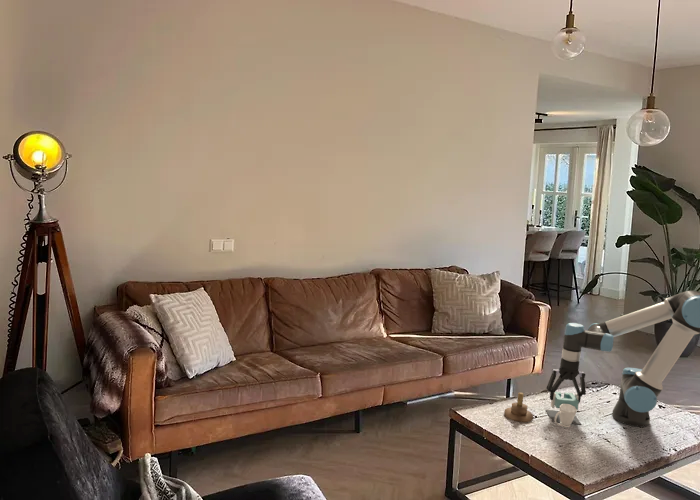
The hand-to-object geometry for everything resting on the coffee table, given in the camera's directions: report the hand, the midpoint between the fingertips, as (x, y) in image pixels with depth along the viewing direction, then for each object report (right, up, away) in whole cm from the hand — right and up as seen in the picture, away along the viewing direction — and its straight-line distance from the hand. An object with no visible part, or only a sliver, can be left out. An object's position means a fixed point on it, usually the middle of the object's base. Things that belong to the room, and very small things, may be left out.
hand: (563, 407), depth 258 cm
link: (0, +1, 0) cm, 1 cm away
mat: (0, -5, +1) cm, 5 cm away
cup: (-3, -6, -7) cm, 10 cm away
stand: (-20, -3, -1) cm, 21 cm away
